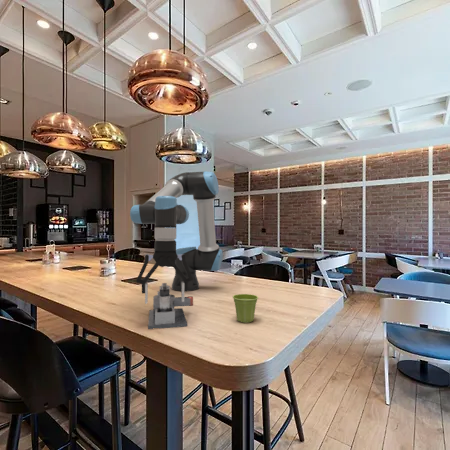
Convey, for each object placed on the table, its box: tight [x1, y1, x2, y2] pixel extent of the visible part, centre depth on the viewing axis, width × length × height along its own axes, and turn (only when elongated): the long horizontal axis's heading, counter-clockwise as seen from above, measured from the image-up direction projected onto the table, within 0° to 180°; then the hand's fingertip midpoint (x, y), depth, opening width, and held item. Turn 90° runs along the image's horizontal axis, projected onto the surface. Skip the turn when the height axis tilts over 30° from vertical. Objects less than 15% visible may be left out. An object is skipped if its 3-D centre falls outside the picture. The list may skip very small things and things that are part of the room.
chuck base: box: [147, 307, 188, 330], centre depth 104 cm, size 13×19×5 cm
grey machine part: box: [152, 282, 194, 314], centre depth 109 cm, size 15×8×11 cm, turn 104°
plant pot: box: [232, 293, 259, 324], centre depth 103 cm, size 9×9×9 cm
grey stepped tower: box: [159, 282, 171, 312], centre depth 98 cm, size 4×6×13 cm, turn 14°
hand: (164, 301), depth 98 cm, fingers open, 12 cm apart
